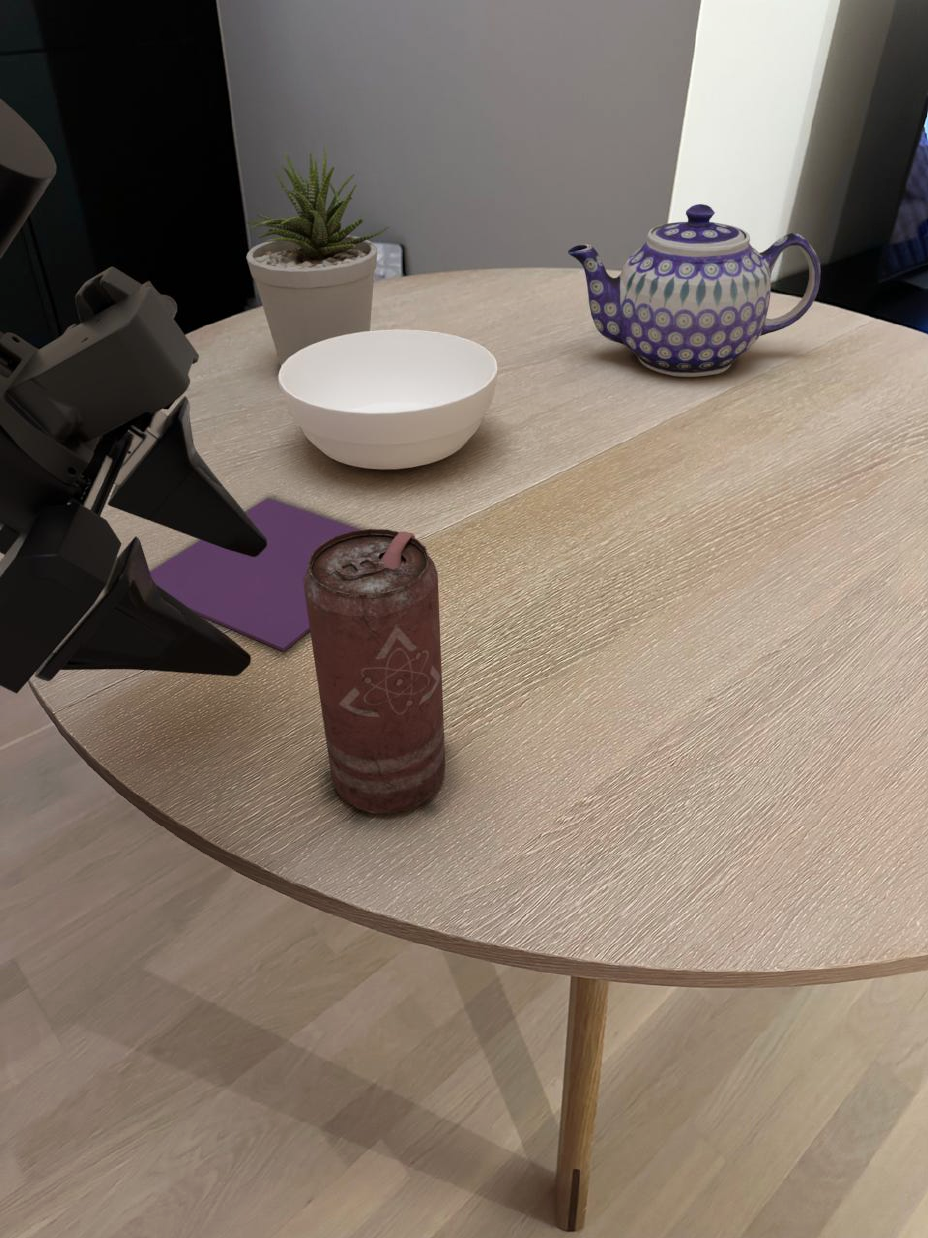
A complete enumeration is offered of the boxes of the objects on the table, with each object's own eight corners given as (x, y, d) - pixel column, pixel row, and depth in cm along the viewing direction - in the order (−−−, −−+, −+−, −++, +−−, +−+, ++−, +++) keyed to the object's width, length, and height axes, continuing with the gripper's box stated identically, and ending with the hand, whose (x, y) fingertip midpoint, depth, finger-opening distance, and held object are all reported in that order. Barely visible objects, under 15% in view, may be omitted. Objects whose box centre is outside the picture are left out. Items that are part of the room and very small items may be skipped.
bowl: (260, 430, 85) (248, 353, 80) (438, 389, 92) (435, 315, 87) (337, 519, 72) (327, 433, 67) (537, 463, 79) (540, 381, 74)
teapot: (788, 332, 102) (817, 185, 93) (823, 388, 90) (861, 225, 81) (559, 331, 104) (566, 187, 95) (564, 386, 91) (572, 226, 82)
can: (465, 752, 51) (461, 536, 43) (412, 834, 47) (396, 610, 38) (370, 721, 53) (348, 509, 45) (310, 797, 49) (273, 577, 40)
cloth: (132, 586, 65) (131, 583, 65) (268, 501, 74) (267, 497, 74) (283, 652, 59) (283, 648, 59) (411, 549, 68) (410, 546, 68)
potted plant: (417, 368, 96) (407, 155, 84) (296, 400, 90) (266, 175, 78) (358, 333, 104) (341, 135, 92) (244, 361, 98) (210, 153, 86)
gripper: (-75, 314, 25) (372, 615, 32) (85, 168, 40) (366, 396, 47) (-242, 578, 29) (187, 791, 36) (-40, 357, 44) (235, 539, 51)
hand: (254, 603), depth 43 cm, fingers open, 9 cm apart
